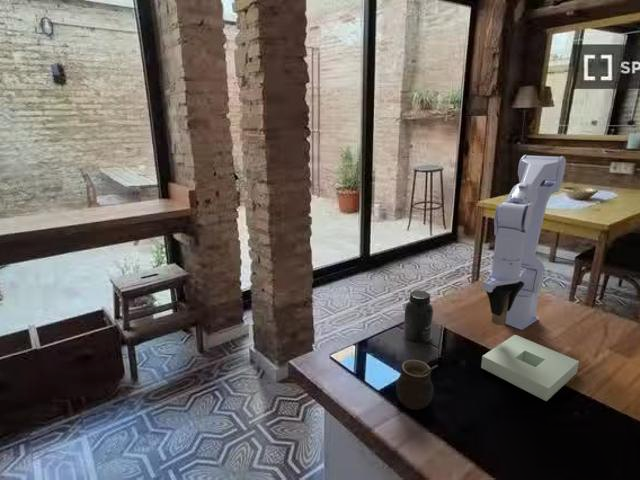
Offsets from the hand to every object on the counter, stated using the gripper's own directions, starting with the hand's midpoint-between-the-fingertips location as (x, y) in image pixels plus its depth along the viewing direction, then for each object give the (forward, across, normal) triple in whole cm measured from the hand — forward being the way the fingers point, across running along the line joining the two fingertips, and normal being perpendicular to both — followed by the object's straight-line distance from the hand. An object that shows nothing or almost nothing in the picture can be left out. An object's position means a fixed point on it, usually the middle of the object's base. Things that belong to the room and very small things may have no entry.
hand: (500, 311), depth 92 cm
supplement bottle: (+10, +10, -15) cm, 21 cm away
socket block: (+10, +2, +9) cm, 13 cm away
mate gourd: (+10, +29, 0) cm, 31 cm away
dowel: (+3, 0, 0) cm, 3 cm away
